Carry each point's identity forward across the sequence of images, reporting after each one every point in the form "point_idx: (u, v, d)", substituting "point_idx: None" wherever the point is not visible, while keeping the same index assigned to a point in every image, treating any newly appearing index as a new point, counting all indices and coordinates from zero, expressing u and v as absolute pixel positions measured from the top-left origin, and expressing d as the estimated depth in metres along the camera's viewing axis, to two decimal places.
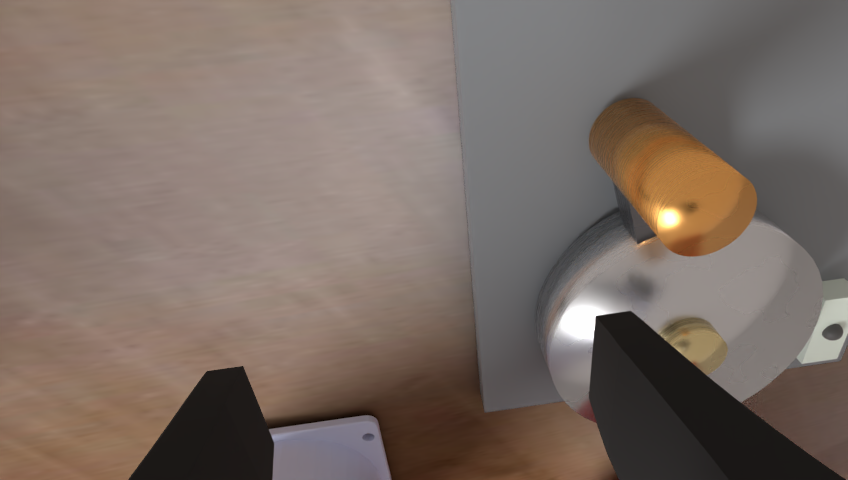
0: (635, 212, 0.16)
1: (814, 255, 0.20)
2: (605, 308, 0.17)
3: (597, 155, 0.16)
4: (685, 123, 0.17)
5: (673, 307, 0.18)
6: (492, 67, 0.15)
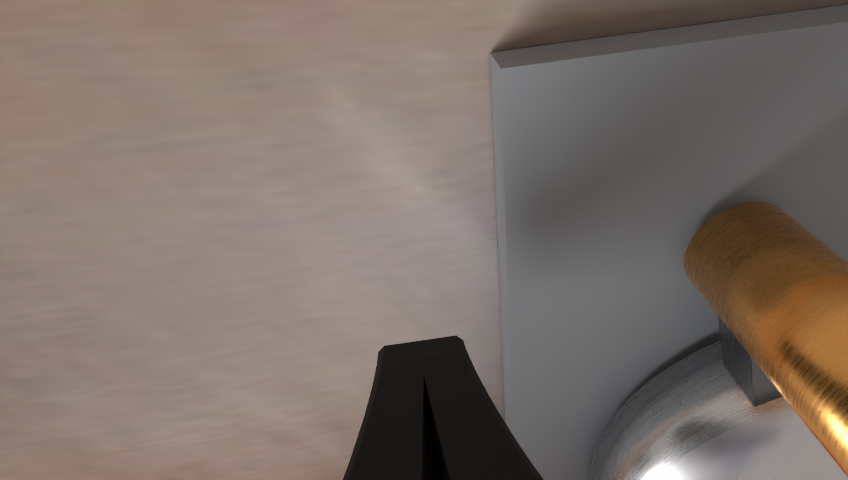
0: (758, 369, 0.11)
1: None
2: None
3: (701, 285, 0.11)
4: (819, 230, 0.12)
5: (793, 479, 0.13)
6: (552, 162, 0.10)
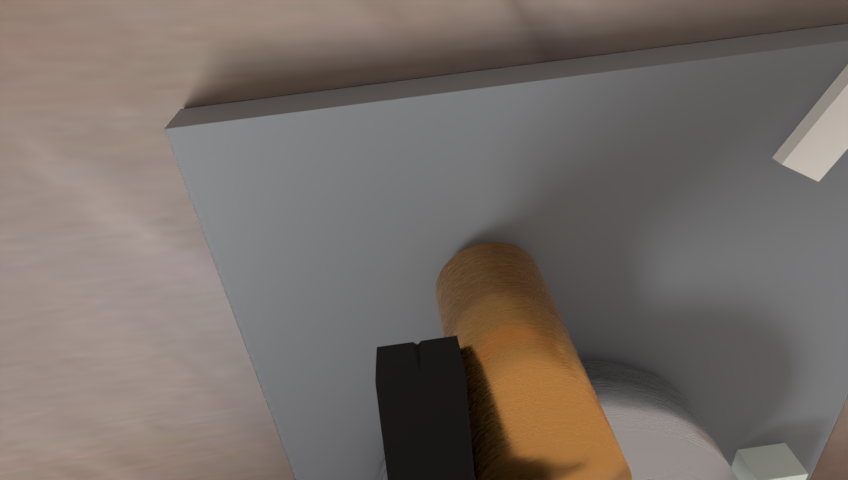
0: None
1: (743, 420, 0.15)
2: None
3: (440, 320, 0.11)
4: (544, 277, 0.12)
5: None
6: (247, 215, 0.11)
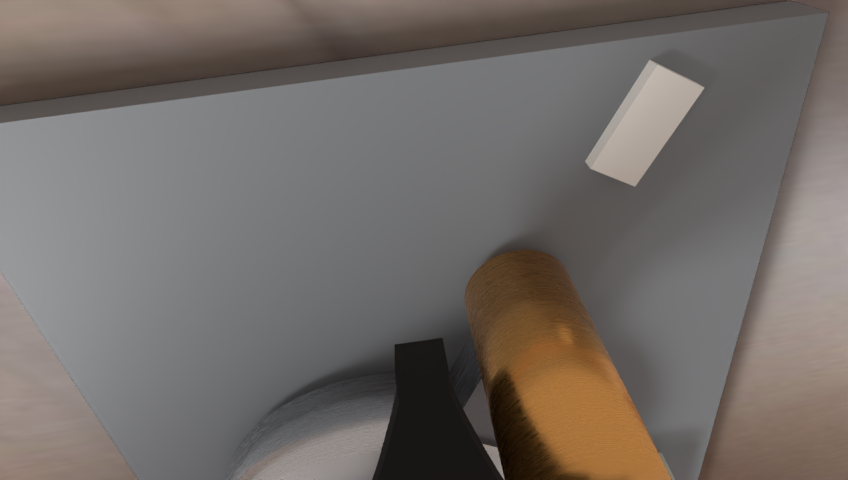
0: (472, 403, 0.11)
1: None
2: None
3: (477, 300, 0.11)
4: (364, 287, 0.11)
5: None
6: (24, 224, 0.10)
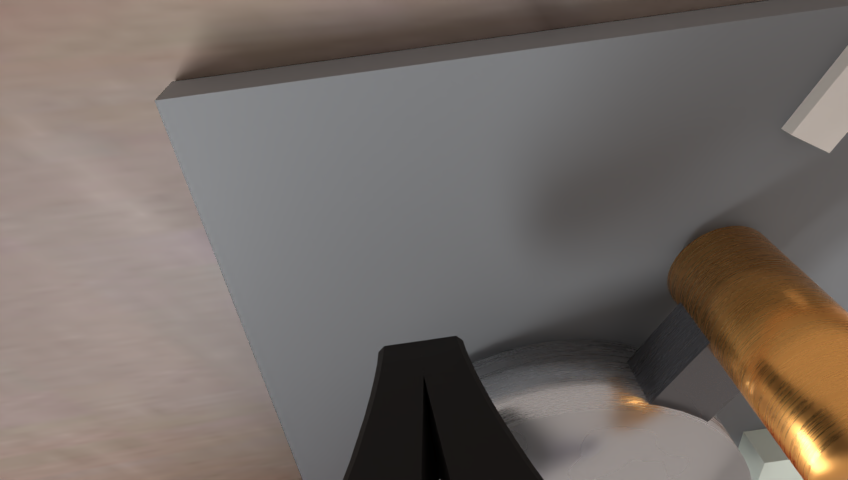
0: (690, 368, 0.11)
1: None
2: (546, 451, 0.12)
3: (700, 270, 0.11)
4: (547, 255, 0.12)
5: None
6: (241, 191, 0.10)
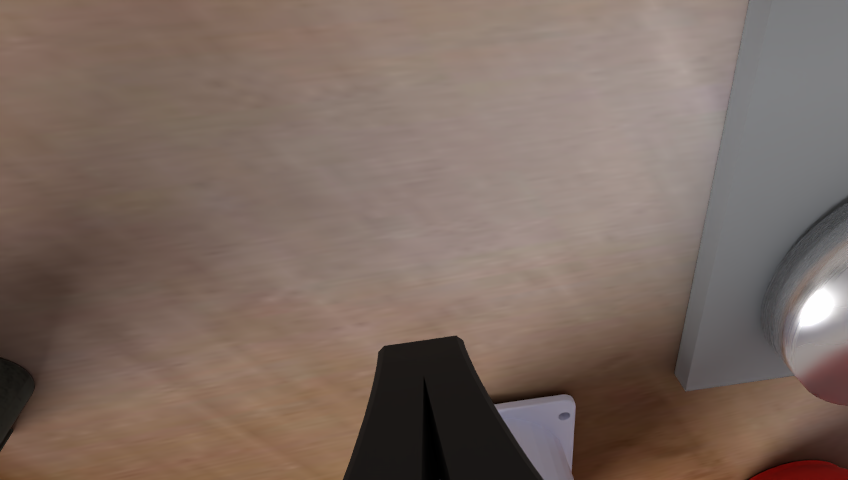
0: None
1: None
2: None
3: None
4: None
5: None
6: (792, 45, 0.16)
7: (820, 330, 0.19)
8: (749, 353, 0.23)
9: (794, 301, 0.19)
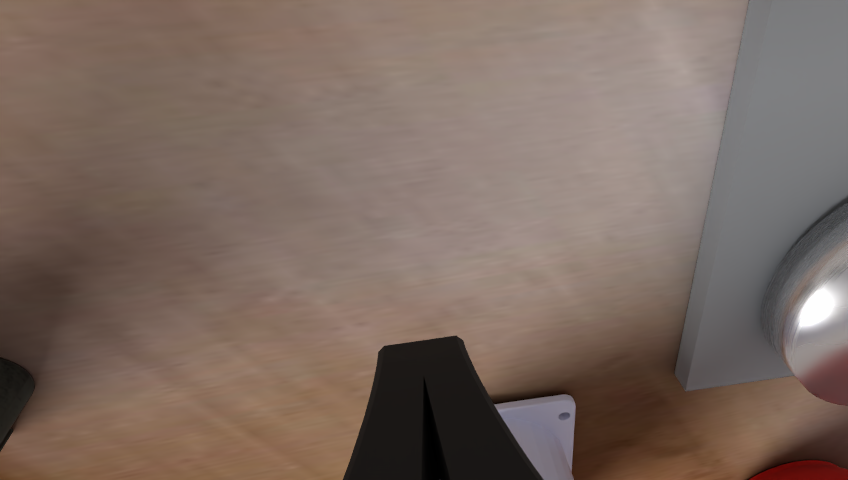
0: None
1: None
2: None
3: None
4: None
5: None
6: (792, 45, 0.16)
7: (820, 330, 0.19)
8: (749, 353, 0.23)
9: (794, 301, 0.19)
